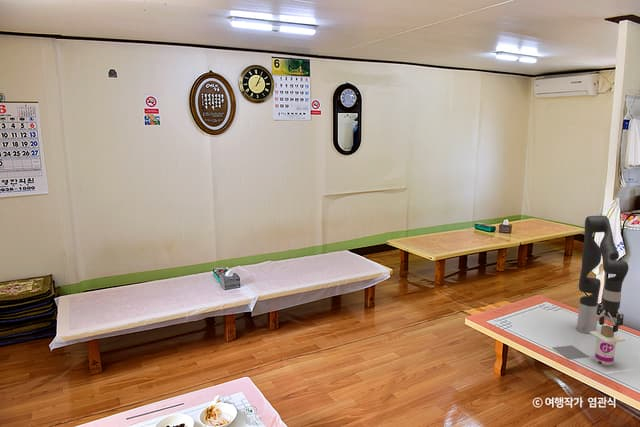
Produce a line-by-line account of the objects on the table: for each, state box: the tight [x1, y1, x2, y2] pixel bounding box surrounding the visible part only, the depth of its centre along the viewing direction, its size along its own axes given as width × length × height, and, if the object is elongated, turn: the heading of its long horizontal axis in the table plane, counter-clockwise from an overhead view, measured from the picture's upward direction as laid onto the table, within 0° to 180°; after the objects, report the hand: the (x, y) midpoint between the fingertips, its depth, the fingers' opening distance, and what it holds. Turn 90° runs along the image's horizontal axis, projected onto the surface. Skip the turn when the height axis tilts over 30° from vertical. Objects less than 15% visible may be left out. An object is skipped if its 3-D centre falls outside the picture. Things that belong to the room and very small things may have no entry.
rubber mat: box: [551, 345, 590, 360], centre depth 242 cm, size 13×13×1 cm
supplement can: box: [594, 337, 617, 367], centre depth 231 cm, size 8×8×15 cm
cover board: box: [589, 325, 626, 343], centre depth 229 cm, size 11×11×5 cm
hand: (608, 328), depth 228 cm, fingers open, 8 cm apart
